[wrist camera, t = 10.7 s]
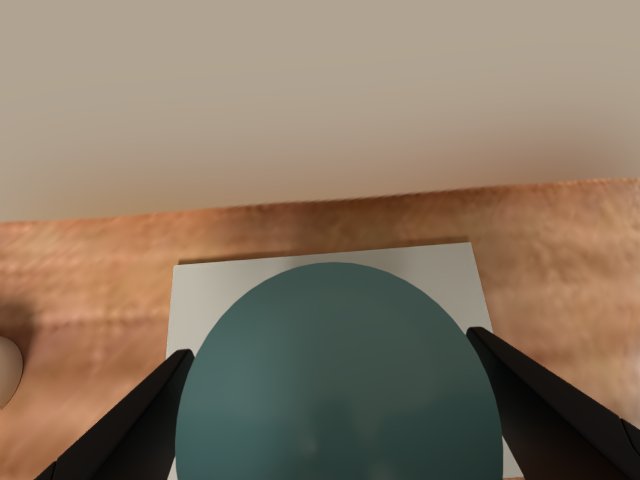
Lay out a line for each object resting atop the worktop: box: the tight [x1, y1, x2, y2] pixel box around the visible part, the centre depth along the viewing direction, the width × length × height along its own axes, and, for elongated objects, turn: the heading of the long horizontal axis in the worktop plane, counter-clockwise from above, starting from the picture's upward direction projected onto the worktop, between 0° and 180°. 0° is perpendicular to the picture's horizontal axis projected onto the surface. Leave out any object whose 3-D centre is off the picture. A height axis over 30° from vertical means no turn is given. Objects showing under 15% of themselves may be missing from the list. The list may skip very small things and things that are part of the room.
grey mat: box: [166, 242, 524, 480], centre depth 17 cm, size 20×13×1 cm, turn 94°
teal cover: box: [175, 262, 503, 480], centre depth 11 cm, size 7×7×11 cm
